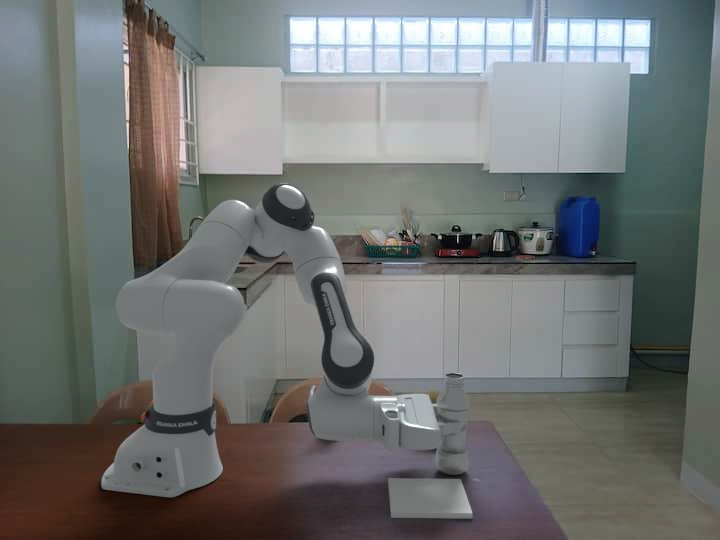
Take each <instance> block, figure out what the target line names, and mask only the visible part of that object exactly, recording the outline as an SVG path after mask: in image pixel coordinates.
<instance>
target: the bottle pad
mask: <svg viewBox="0 0 720 540" xmlns="http://www.w3.org/2000/svg"><path fill="white" fill-rule="evenodd" d="M387 486H388V499H389V508H390V518H391V519H399V518H401V519H464V520H466V519H469V520H470V519H473V511H472V507H471V504H470V502H469V499H468V496H467V493H466V490H465V486H464V484H463V481H462V479H461V478H410V477H409V478H402V477H401V478H393V477H391V478H390V477H388V479H387Z"/></svg>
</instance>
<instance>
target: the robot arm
mask: <svg viewBox="0 0 720 540" xmlns="http://www.w3.org/2000/svg"><path fill="white" fill-rule="evenodd" d="M306 196H307V195H305V193H304V192H303V191H302V190H301V189H300V188H299V187H297V186H296V185H293V184H291V183H287V182H278V183H276V184H274V185H272V186H271V187H269V188H268V190H267V191H266V192H264V195H262V198H261V200H260V202H259V203H258V204H257V206H256V208H253V207H252V208H251V207H250V206H249V205H248V204H246V203H245V202H243V201H242V200H241V201H240V200H238V199H237V200H236V199H228V200H225V201H222V202H220V203H219V204H218V205H217V206H216V207H214V209H213V210H211V211H210V212H209V213H208V215H207V216H206V217H205V218H204V219H203V220H202V222H201V223H200V224H199V226H198V227H197V229H196V230H195V232H194V233H193V235H192V236H191V237H190V239H189V240H188V241H187V243H186V244H185V246H184V247H183V248H182V249H181V250H180V251H179V252H177V254H175V256H173V257H171V258H170V259H169V260H168V261H166V262H165V263H163V264H162V265H161V266H159V267H157V268H156V269H155V270H152V271H151V272H149V273H148V274H145V275H143V276H140V277H137V278H134V279H132V280H128V281H127V282H126V283H125V284H124V285H123V286H122V287H121V288H120V290H119V292H118V294H117V296H116V301H115V310H116V314H117V315H116V316H117V317H118V320H119V322H120V323H121V324H122V325H123V326H125V327H126V328H129V329H132V330H135V331H137V332H141V333H144V334H147V335H148V334H149V335H161V336H173V337H174V338H175V345H174V350H173V352H172V353H170V354H168V355H165V356H164V357H163V358H162V359H160V360H159V361H158V362H157V363H156V365H155V366H154V368H153V370H152V400H151V401H150V402H149V403H148V404H147V405H148V406H147V407H146V408H145V409H144V411H143V413H142V414H141V417H140V418H141V419H140V420H141V422H144V424H143V425H142V426H141V427H139V428H138V429H136V430H135V431H134V432H133V433H131V434H130V435H129V436H128V437H127V438H125V440H124V441H123V442H121V444H120V445H119V446H118V448H117V451H116V453H115V456H114V461H113V463H111V465H110V466H109V467H107V469H106V470H105V471H104V473H103V475H102V477H101V483H100V486H101V488H102V490H105V491H114V492H122V493H129V494H137V495H138V494H140V495H146V496H155V497H164V498H175V497H177V496H180V495H182V494H184V493H186V492H188V491H190V490H194V489H197V488H201V487H204V486H206V485H208V484H210V483H211V482H214V481H216V480H217V479H218V478H220V476H221V474H222V473H223V470H224V469H223V464H222V462H221V458H220V455H219V451H218V445H217V439H216V432H215V431H216V427H217V411H216V404H215V403H216V402H215V400H214V399H213V379H214V377H213V376H214V375H213V374H214V365H215V360H216V357H217V355H218V353H219V351H220V349H221V347H222V346H223V344H224V343H225V342H226V341H227V340H228V339H229V338H231V337H232V336H234V334H235V333H237V332H238V330H239V329H240V328H241V326H242V324H243V322H244V320H245V315H246V304H245V303H246V302H245V299H244V297H243V295H242V293H241V292H240V290H239V289H238V288H237V287H235V286H234V285H231V284H230V285H229V284H227V282H228V281H229V280H230V279H231V277H233V275H234V273H235V271H236V270H237V267H238V266H239V264H240V262H241V260H242V258H243V257H244V255H246V256H248V257H249V258H250V259H253V260H254V261H256V262H259V263H263V264H264V263H265V264H271V263H274V262H275V261H277V260H278V259H279V258H281V257H282V256H283V255H284V253H286V254H287V255H288V257H289V259H290V260H291V261H290V262H292V269H293V273H294V277H295V280H296V284H297V288H298V289H299V292H300V294H301V296H302V298H303V300H304V302H305V303H306V304H307V305H310V306H312V307H315V308H316V310H317V315H318V317H319V322H320V324H321V328H322V332H323V336H324V337H323V338H324V341H323V346H322V349H321V350H322V351H321V359H320V360H321V365H322V370H323V372H324V374H323V375H322V376H323V377H322V379H321V381H320V383H319V385H318V386H317V388H316V390H315V392H313V394H312V396H311V397H309V399H307V402H306V414H307V415H306V416H307V421H308V427H309V430H310V432H311V433H312V435H313V436H315V438H318V439H321V440H327V441H337V442H354V441H357V440H366V441H369V442H378V443H380V444H381V445H382V446H383V447H384V448H385V449H386V450H387V452H391V453H396V452H397V453H398V452H400V449H401V450H402V449H403V450H405V451H431V450H436V449H437V448H438V447H440V439H441V436H444V435H447V434H450V433H459V432H461V423H460V422H459V421H451V422H450V423H443V422H438V421H437V418H436V416H437V415H438V410H437V404H432V403H431V400H430V397H429V395H427V394H425V393H403V394H398V395H371V394H369V389H370V387H371V384H372V376H373V375H372V374H373V368H374V365H375V353H374V351H373V348H372V346H371V344H370V342H368V341H367V339H366V338H365V337H364V336H363V335H362V334H361V333H360V331H359V330H358V329H357V327H356V326H355V324H354V323H355V322H354V320H353V317H352V314H351V311H350V307H349V306H348V302H347V298H346V294H347V282H346V281H347V279H346V274H345V270H344V266H343V263H342V260H341V257H340V253H339V252H338V250H337V247H336V245H335V243H334V240H332V238H331V236H330V234H329V232H328V231H326V230H325V229H324V228H323V227H320V226H315V225H314V223H315V212H314V211H313V210H312V208H311V203H310V202H309V199H308V197H306Z"/></svg>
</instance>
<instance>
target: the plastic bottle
mask: <svg viewBox="0 0 720 540" xmlns="http://www.w3.org/2000/svg"><path fill="white" fill-rule="evenodd" d="M443 385H444V387H443V389H442V390H440V391H439V392H440V394H439V395H438V397H437V410H438V418H439V422H443V423H450V422H451V421H459V422H460V423H461V432H459V433H450V434H447V435H444V436H441V439H440V447H438V448H436V449H435V450H436V451H435V457H434V459H435V465H436V468H437V469H438V470H439V472H440V473H442V474H445V475H450V476H459V475H462V474H464V473H466V471H467V469H468V468H469V463H470V458H469V457H470V456H469V451H468V443H467V442H468V441H467V428H468V418H469V413H470V407H471V400H470V397H469V395H468V393H467V392H466V390H465V389H464V388H463V387H464V386H465V376H464V375H463V374H462V373H458V372H448V373H445V375H444V381H443Z"/></svg>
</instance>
